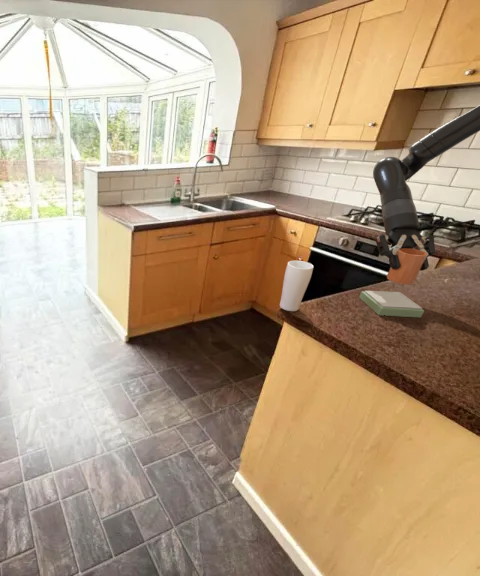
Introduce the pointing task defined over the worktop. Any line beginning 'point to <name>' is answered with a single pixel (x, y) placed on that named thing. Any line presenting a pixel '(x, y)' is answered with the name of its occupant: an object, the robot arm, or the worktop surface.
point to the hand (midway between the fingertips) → (409, 269)
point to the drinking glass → (295, 284)
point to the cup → (407, 266)
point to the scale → (391, 304)
